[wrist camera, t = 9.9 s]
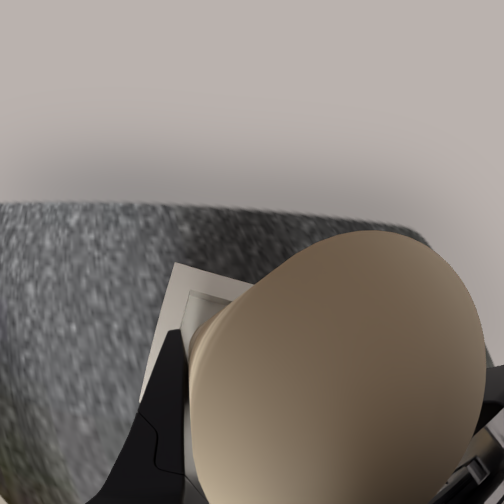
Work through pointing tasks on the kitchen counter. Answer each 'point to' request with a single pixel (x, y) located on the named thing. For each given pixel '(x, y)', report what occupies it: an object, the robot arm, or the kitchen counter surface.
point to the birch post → (338, 378)
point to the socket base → (191, 306)
